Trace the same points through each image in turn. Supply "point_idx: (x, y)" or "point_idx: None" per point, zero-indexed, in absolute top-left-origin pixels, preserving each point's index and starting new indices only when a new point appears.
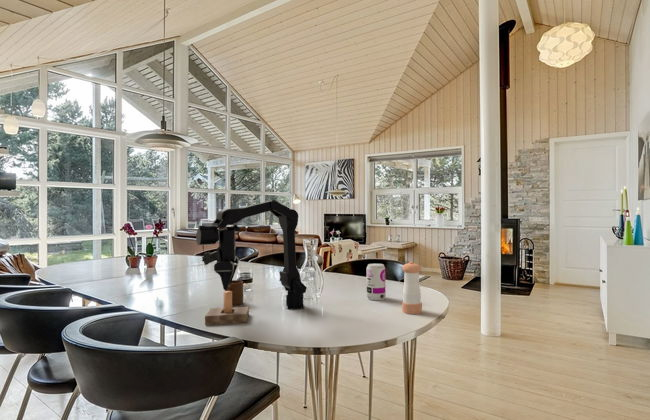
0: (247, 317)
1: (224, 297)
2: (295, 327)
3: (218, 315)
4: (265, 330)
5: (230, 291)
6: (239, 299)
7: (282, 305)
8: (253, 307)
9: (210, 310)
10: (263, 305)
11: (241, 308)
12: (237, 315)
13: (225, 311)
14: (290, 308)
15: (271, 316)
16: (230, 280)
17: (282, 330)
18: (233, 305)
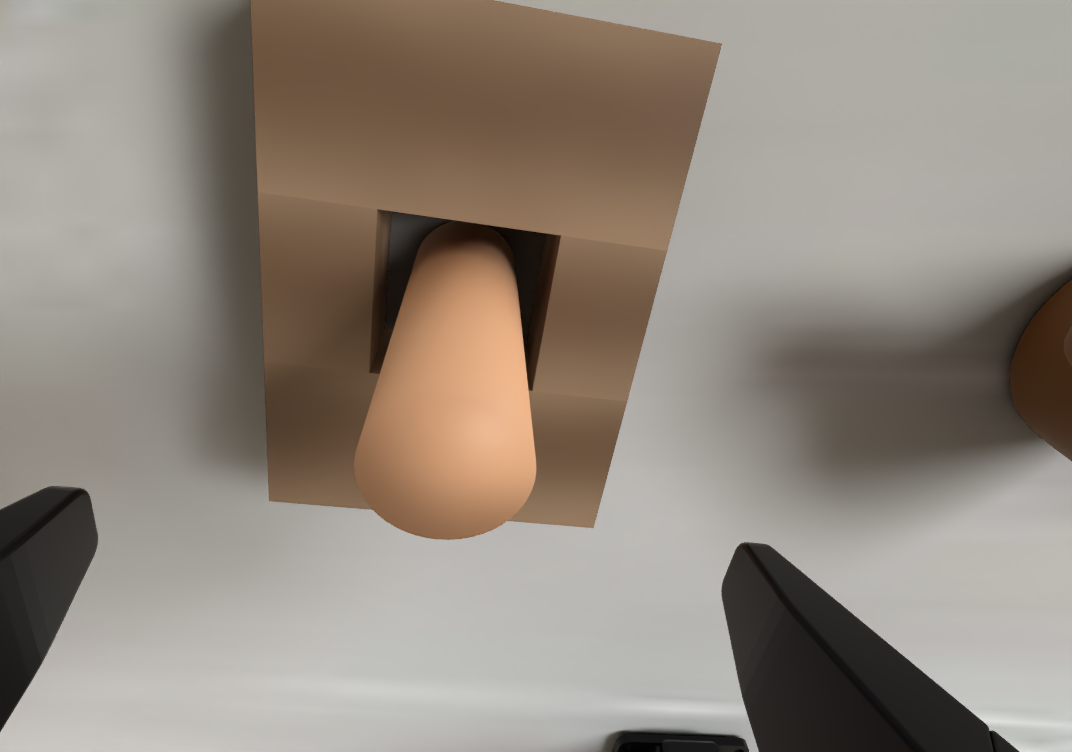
0: None
1: (395, 361)
2: (119, 736)
3: (257, 181)
4: None
5: (461, 515)
6: (1055, 435)
7: None
8: (831, 516)
9: (583, 47)
10: (850, 592)
11: (540, 459)
12: (268, 409)
13: (411, 281)
14: (614, 750)
15: (454, 627)
16: (753, 673)
17: (43, 668)
18: (1021, 337)
